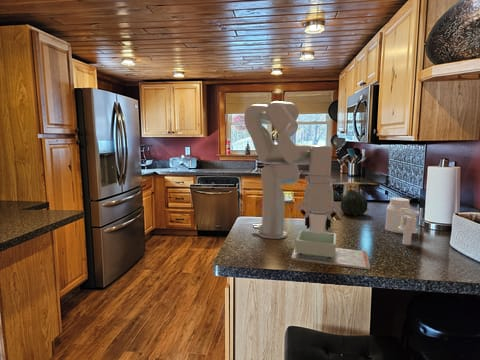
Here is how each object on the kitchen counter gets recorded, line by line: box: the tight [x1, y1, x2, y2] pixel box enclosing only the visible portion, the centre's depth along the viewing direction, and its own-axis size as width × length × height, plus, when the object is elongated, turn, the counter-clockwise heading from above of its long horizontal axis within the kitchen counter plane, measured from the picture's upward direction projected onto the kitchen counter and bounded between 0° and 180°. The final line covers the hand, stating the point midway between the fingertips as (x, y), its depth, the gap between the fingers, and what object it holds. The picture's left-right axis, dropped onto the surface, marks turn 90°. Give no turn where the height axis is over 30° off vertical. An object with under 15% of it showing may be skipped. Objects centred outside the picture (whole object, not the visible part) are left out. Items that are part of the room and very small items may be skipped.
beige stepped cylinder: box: [398, 208, 420, 246], centre depth 129 cm, size 7×7×15 cm
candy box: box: [342, 181, 360, 198], centre depth 204 cm, size 9×4×15 cm, turn 103°
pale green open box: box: [294, 229, 337, 259], centre depth 116 cm, size 14×14×6 cm
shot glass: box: [308, 211, 327, 233], centre depth 114 cm, size 7×7×7 cm
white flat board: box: [290, 247, 371, 271], centre depth 115 cm, size 26×16×1 cm, turn 73°
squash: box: [340, 190, 368, 217], centre depth 181 cm, size 14×15×15 cm
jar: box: [384, 197, 413, 234], centre depth 150 cm, size 12×10×15 cm
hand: (317, 228), depth 115 cm, fingers closed on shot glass, 6 cm apart
